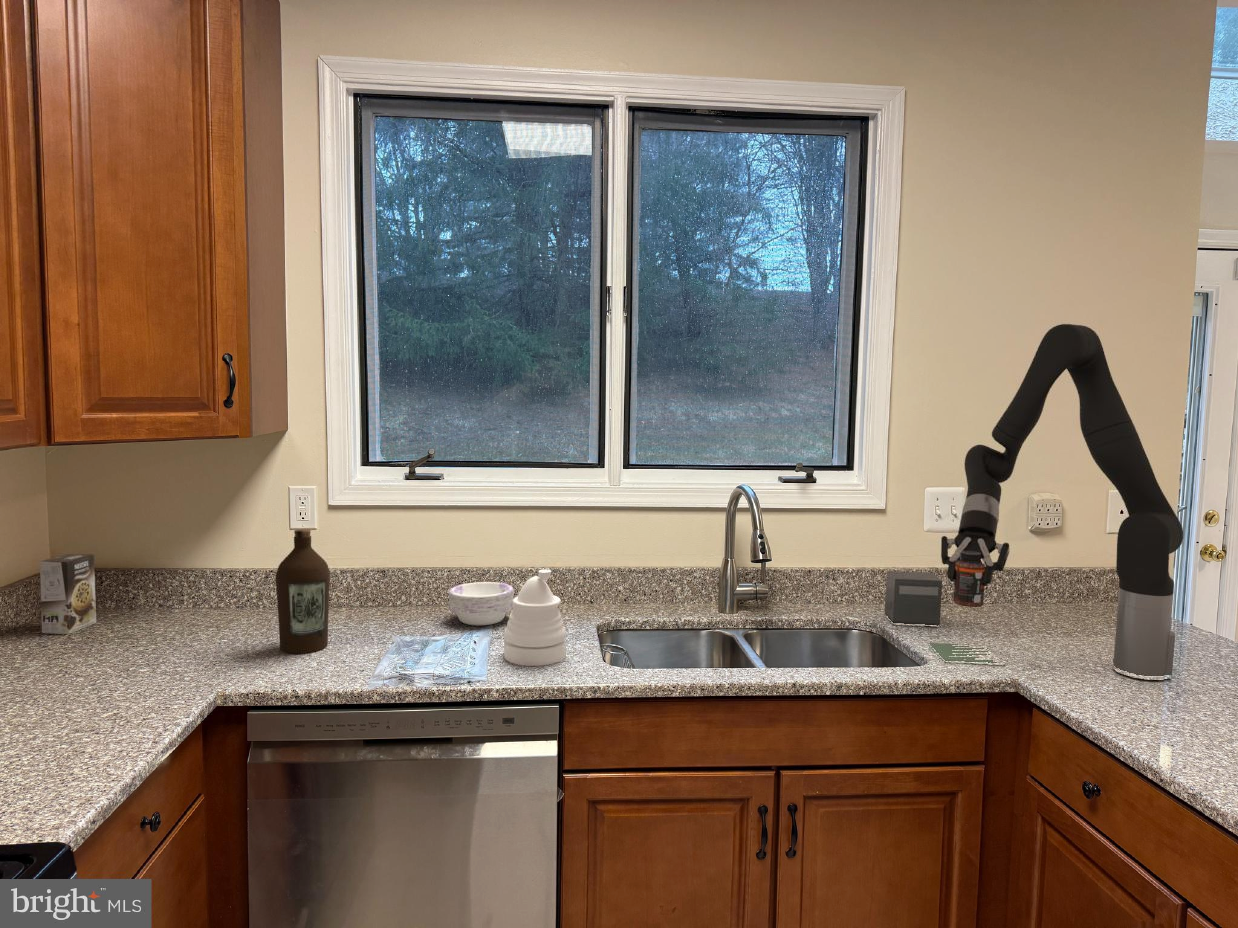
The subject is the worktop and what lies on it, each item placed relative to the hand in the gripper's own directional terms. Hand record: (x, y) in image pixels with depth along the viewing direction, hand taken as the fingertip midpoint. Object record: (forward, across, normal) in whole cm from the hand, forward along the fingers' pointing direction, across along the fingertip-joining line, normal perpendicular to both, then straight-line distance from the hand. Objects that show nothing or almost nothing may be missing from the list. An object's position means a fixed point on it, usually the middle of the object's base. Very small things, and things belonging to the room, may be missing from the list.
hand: (968, 581), depth 170 cm
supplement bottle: (+3, 0, +5) cm, 6 cm away
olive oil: (+64, -119, -41) cm, 141 cm away
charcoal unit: (-4, -15, +28) cm, 32 cm away
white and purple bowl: (+39, -102, -15) cm, 110 cm away
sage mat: (+11, 0, +13) cm, 17 cm away
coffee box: (+79, -172, -55) cm, 197 cm away
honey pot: (+48, -76, -24) cm, 93 cm away
